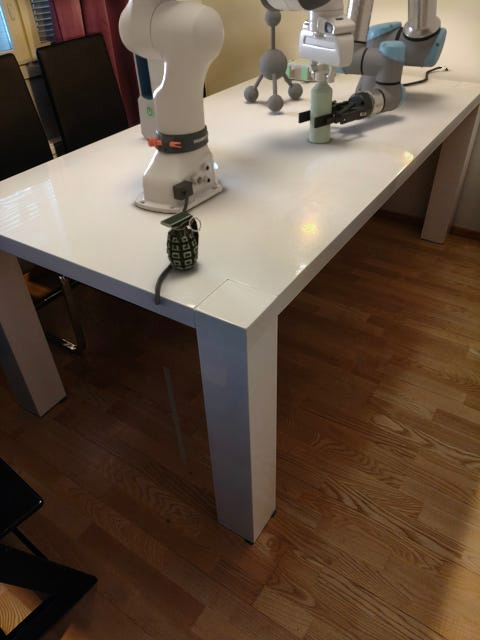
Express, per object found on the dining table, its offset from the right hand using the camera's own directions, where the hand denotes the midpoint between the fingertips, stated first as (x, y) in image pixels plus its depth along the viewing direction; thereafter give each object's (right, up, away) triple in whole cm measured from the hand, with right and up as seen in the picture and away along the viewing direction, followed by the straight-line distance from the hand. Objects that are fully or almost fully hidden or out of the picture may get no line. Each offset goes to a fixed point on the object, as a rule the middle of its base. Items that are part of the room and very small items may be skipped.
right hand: (307, 120), depth 138 cm
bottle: (+4, -3, +6) cm, 8 cm away
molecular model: (-5, +22, +40) cm, 46 cm away
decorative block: (+11, +49, +73) cm, 89 cm away
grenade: (-29, -47, -47) cm, 72 cm away
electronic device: (-43, 0, +14) cm, 46 cm away
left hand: (+4, +10, -4) cm, 11 cm away
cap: (+4, +11, -5) cm, 13 cm away
